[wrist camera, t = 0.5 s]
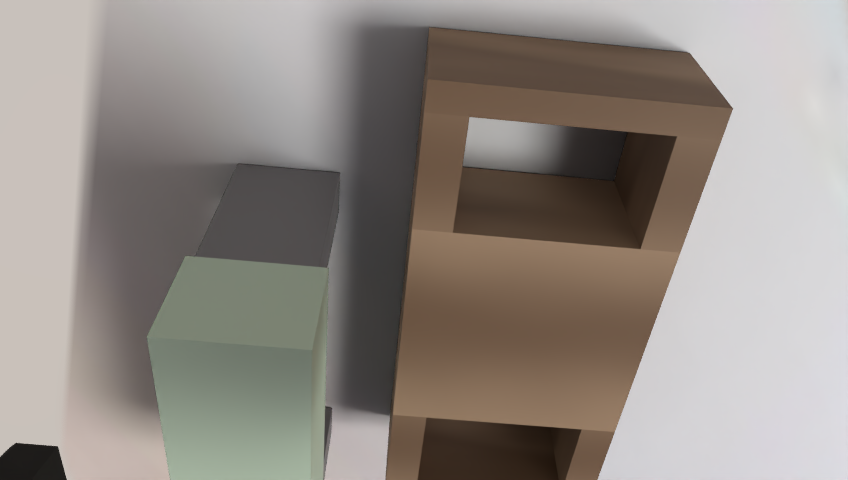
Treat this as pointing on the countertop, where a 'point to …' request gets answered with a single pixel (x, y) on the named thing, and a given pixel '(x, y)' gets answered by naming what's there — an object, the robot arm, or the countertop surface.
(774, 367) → the countertop surface
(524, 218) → the post base
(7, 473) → the robot arm
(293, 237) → the green toy bench
